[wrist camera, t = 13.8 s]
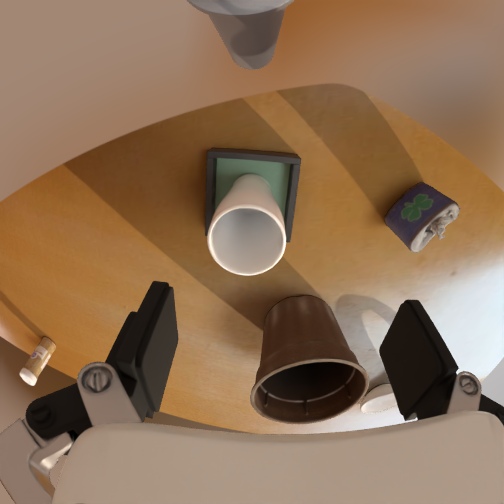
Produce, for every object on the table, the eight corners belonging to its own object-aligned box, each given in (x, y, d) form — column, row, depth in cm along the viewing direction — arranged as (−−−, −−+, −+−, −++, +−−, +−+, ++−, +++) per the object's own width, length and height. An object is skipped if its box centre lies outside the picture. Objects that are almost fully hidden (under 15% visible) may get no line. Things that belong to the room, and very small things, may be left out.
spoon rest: (387, 402, 63) (393, 423, 56) (350, 404, 62) (355, 427, 56) (432, 342, 52) (445, 365, 45) (393, 342, 51) (404, 368, 45)
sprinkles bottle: (48, 335, 54) (24, 373, 42) (59, 348, 56) (36, 386, 44) (40, 337, 55) (16, 372, 43) (50, 349, 57) (28, 385, 45)
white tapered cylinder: (226, 216, 39) (209, 276, 25) (224, 167, 35) (202, 204, 22) (276, 216, 38) (285, 276, 25) (277, 167, 35) (288, 203, 22)
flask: (389, 228, 39) (421, 264, 30) (379, 215, 38) (411, 249, 29) (430, 190, 36) (471, 216, 27) (421, 176, 35) (463, 199, 26)
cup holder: (211, 147, 35) (206, 151, 32) (297, 154, 35) (301, 158, 32) (209, 225, 40) (205, 236, 37) (287, 231, 40) (290, 242, 37)
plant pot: (286, 266, 43) (297, 344, 29) (363, 305, 46) (392, 377, 32) (236, 333, 50) (229, 409, 35) (309, 361, 53) (318, 430, 39)
